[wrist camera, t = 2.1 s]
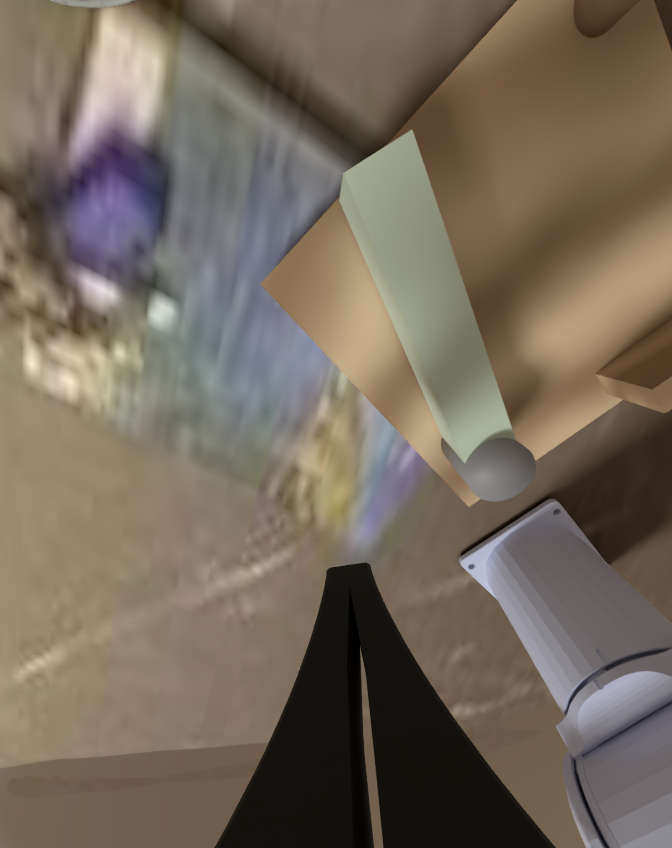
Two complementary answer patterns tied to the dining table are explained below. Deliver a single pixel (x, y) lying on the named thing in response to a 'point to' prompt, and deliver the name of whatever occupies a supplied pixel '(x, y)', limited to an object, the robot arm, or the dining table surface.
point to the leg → (434, 316)
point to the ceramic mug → (93, 3)
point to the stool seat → (527, 228)
